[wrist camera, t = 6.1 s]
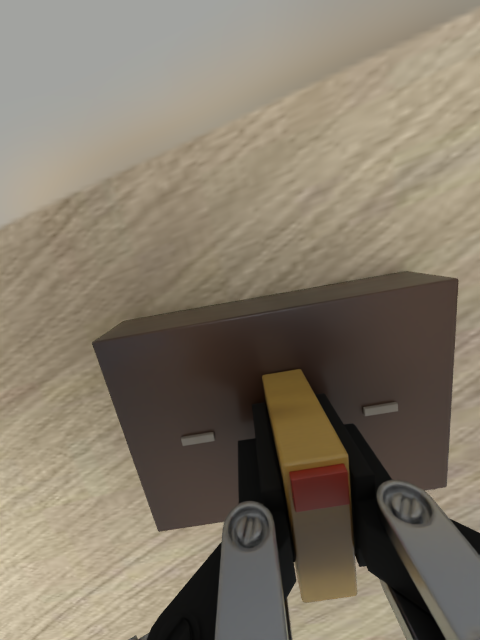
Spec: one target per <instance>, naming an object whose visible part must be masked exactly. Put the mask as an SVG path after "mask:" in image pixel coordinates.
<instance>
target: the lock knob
mask: <svg viewBox="0 0 480 640" xmlns="http://www.w3.org/2000/svg"><path fill="white" fill-rule="evenodd" d="M262 381H263V387H264V393H265V400H266V406H267V409H268V413H269V418H270V423H271V428H272V433H273V437H274V442H275V447H276V452H277V456H278V461H279V466H280V471H281V475H282V480H283V485H284V491H285V497H286V503H287V510H288V516H289V523H290V529H291V536H292V542H293V549H294V555H295V567H296V572H297V577H298V583H299V588H300V593H301V598H302V600H303V602H304V603H309V602H316V601H323V600H330V599H337V598H344V597H351V596H356V595H357V582H356V566H355V551H354V536H353V520H352V505H351V489H350V474H349V459H348V454H347V452H346V450H345V448H344V446H343V445H342V443H341V441H340V439H339V437H338V435H337V434H336V432H335V430H334V428H333V426H332V425H331V423H330V421H329V419H328V417H327V416H326V414H325V412H324V410H323V408H322V406H321V405H320V403H319V401H318V399H317V397H316V396H315V394H314V392H313V390H312V388H311V387H310V385H309V383H308V381H307V379H306V377H305V376H304V374H303V372H302V370H301V369H296V370H290V371H284V372H278V373H272V374H266V375H263V376H262Z"/></svg>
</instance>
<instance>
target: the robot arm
mask: <svg viewBox="0 0 480 640" xmlns="http://www.w3.org/2000/svg"><path fill="white" fill-rule="evenodd" d="M315 396H316V397H317V399H318V401H319V403H320V405H321V406H322V408H323V410H324V412H325V414H326V416H327V417H328V419H329V421H330V423H331V425H332V426H333V428H334V430H335V432H336V434H337V435H338V437H339V439H340V441H341V443H342V445H343V446H344V448H345V450H346V452H347V454H348V459H349V474H350V489H351V505H352V520H353V536H354V551H355V556H356V559H357V562H358V564H359V567H362V566H367V568H368V571H370V572H371V573H372V574H374V575H375V576H377V577H378V578H379V579H380V582H381V585H382V588H383V590H384V592H385V594H386V597H387V599H388V601H389V603H390V605H391V607H392V610H393V612H394V614H395V616H396V618H397V620H398V623H399V625H400V627H401V629H402V631H403V633H404V636H405V638H406V640H480V533H479V532H476V531H474V530H472V529H470V528H468V527H466V526H464V525H462V524H460V523H458V522H456V521H453V520H451V519H449V518H448V517H447V515H446V514H445V513H444V512H443V511H442V509H441V508H440V507H439V506H438V505H437V503H436V502H435V501H434V500H433V498H432V497H431V496H430V495H428V494H427V493H426V492H425V491H424V490H423V489H421V488H420V487H418V486H417V485H414V484H412V483H409V482H407V481H402V480H392V478H391V477H390V475H389V474H388V472H387V471H386V469H385V468H384V467H383V465H382V464H381V462H380V461H379V459H378V458H377V456H376V455H375V453H374V452H373V450H372V449H371V447H370V446H369V444H368V443H367V442H366V440H365V439H364V437H363V436H362V434H361V433H360V431H359V430H358V428H357V427H356V426H355V424H353V423H351V424H343V422H342V421H341V419H340V417H339V416H338V414H337V412H336V411H335V409H334V408H333V406H332V404H331V403H330V401H329V400H328V398H327V396H326V395H325V393H321V394H315ZM252 411H253V420H254V429H255V438H253V439H246V440H240V441H238V492H239V504H238V505H236V506H235V507H234V508H233V509H232V510H231V511H230V512H229V513H228V515H227V517H226V518H225V521H224V525H223V533H222V542H221V543H220V544H219V545H218V547H217V548H216V549H215V550H214V551H213V553H212V554H211V555H210V556H209V557H208V559H207V560H206V561H205V562H204V563H203V565H202V566H201V567H200V568H199V569H198V571H197V572H196V573H195V574H194V575H193V577H192V578H191V579H190V580H189V581H188V583H187V584H186V585H185V586H184V587H183V589H182V590H181V591H180V592H179V593H178V595H177V596H176V597H175V598H174V599H173V601H172V602H171V603H170V604H169V605H168V607H167V608H166V609H165V610H164V611H163V613H162V614H161V615H160V616H159V618H158V619H157V621H156V622H155V624H154V625H153V626H152V628H151V631H150V632H149V633H148V634H146V635H144V636H143V637H141V638H140V639H138V638H137V636H136V635H135V636H134V637H132V638H130V639H129V640H293V639H292V631H291V623H290V615H289V607H288V600H287V597H288V595H289V593H290V591H291V589H292V588H293V586H294V584H295V582H296V576H295V569H294V563H293V562H295V555H294V549H293V542H292V536H291V529H290V523H289V516H288V510H287V503H286V497H285V491H284V485H283V480H282V475H281V471H280V466H279V461H278V456H277V452H276V447H275V442H274V437H273V433H272V428H271V423H270V418H269V413H268V409H267V406H265V403H257V404H252Z"/></svg>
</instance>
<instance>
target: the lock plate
mask: <svg viewBox="0 0 480 640" xmlns="http://www.w3.org/2000/svg"><path fill="white" fill-rule="evenodd" d="M457 296H458V279H457V278H451V277H444V276H436V275H429V274H422V273H415V272H408V271H406V272H400V273H394V274H389V275H383V276H377V277H372V278H366V279H360V280H354V281H349V282H343V283H337V284H332V285H326V286H320V287H315V288H309V289H303V290H297V291H292V292H286V293H280V294H275V295H269V296H263V297H258V298H252V299H246V300H240V301H235V302H229V303H223V304H218V305H212V306H206V307H201V308H195V309H189V310H183V311H178V312H172V313H166V314H161V315H155V316H149V317H144V318H138V319H132V320H126V321H123V322H122V323H120V324H119V325H117V326H116V327H114V328H113V329H111V330H110V331H108V332H107V333H105V334H104V335H102V336H101V337H99V338H98V339H96V340H95V341H93V342H92V345H93V348H94V350H95V353H96V356H97V359H98V362H99V365H100V368H101V370H102V373H103V376H104V379H105V382H106V385H107V387H108V390H109V393H110V396H111V399H112V402H113V404H114V407H115V410H116V413H117V416H118V419H119V421H120V424H121V427H122V430H123V433H124V436H125V438H126V441H127V444H128V447H129V450H130V453H131V455H132V458H133V461H134V464H135V467H136V470H137V473H138V475H139V478H140V481H141V484H142V487H143V490H144V492H145V495H146V498H147V501H148V504H149V507H150V509H151V512H152V515H153V518H154V521H155V524H156V526H157V529H158V531H159V532H160V531H167V530H173V529H179V528H186V527H192V526H199V525H205V524H212V523H218V522H224V521H225V518H226V517H227V515H228V513H229V512H230V511H231V510H232V509H233V508H234V507H235V506H236V505H238V504H239V492H238V441H240V440H246V439H253V438H255V429H254V420H253V411H252V404H257V403H265V406H266V400H265V393H264V387H263V381H262V376H263V375H266V374H272V373H278V372H284V371H290V370H296V369H301V370H302V372H303V374H304V376H305V377H306V379H307V381H308V383H309V385H310V387H311V388H312V390H313V392H314V394H321V393H325V395H326V396H327V398H328V400H329V401H330V403H331V404H332V406H333V408H334V409H335V411H336V412H337V414H338V416H339V417H340V419H341V421H342V422H343V424H351V423H353V424H355V426H356V427H357V428H358V430H359V431H360V433H361V434H362V436H363V437H364V439H365V440H366V442H367V443H368V444H369V446H370V447H371V449H372V450H373V452H374V453H375V455H376V456H377V458H378V459H379V461H380V462H381V464H382V465H383V467H384V468H385V469H386V471H387V472H388V474H389V475H390V477H391V478H392V480H402V481H407V482H409V483H412V484H414V485H417V486H418V487H420V488H421V489H423V490H431V489H437V488H443V487H446V486H447V471H448V453H449V436H450V418H451V401H452V383H453V366H454V349H455V331H456V314H457Z"/></svg>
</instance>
